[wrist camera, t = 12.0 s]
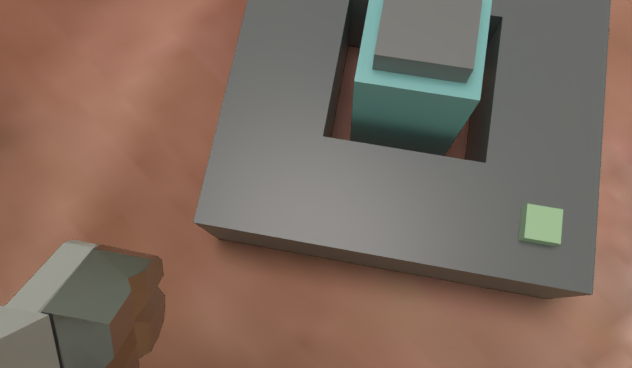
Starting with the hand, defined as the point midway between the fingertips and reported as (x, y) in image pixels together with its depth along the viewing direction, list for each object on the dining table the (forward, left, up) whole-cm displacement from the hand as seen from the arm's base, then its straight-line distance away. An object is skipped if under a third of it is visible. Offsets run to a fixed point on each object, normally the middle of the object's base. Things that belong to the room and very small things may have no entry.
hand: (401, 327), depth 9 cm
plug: (-4, +8, -14) cm, 16 cm away
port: (-4, +8, -14) cm, 17 cm away
